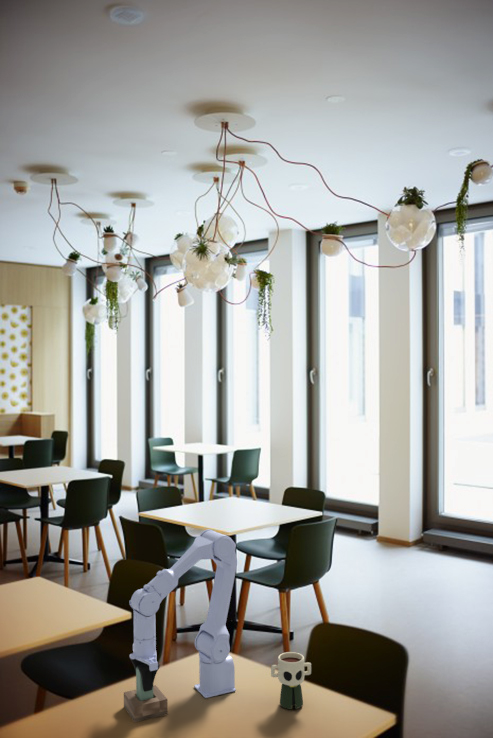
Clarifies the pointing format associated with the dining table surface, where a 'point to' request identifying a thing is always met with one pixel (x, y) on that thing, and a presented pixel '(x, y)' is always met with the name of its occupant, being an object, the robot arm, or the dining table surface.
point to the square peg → (139, 688)
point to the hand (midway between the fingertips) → (145, 687)
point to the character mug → (291, 678)
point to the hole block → (145, 705)
